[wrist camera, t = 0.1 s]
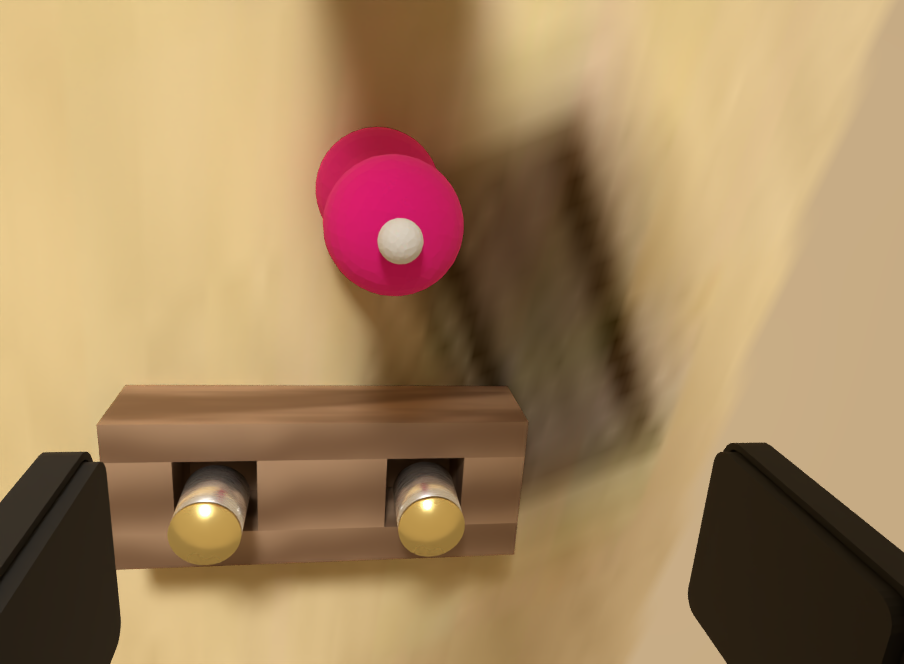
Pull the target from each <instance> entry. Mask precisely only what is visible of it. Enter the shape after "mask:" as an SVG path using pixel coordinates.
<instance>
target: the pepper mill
mask: <svg viewBox="0 0 904 664" xmlns="http://www.w3.org/2000/svg"><path fill="white" fill-rule="evenodd" d="M316 198H317V204H318V207H319V210H320V213H321V216H322V218H323V230H324V239H325V243H326V246H327V249H328V252H329V254H330V256H331V258H332V259H333V261H334V263H335V264H336V266H337V267H338V268H339V270H340V271H341V272H342V273H343V274H344V275H345V276H346V277H347V278H348V279H349V280H350V281H352V282H353V283H355V284H356V285H357V286H359V287H361V288H363V289H365V290H367V291H370V292H372V293H376V294H379V295H387V296H403V295H409V294H414V293H416V292H419V291H421V290H424V289H426V288H428V287H429V286H431V285H433V284H434V283H436V282H437V281H438V280H439V279H440V278H442V277H443V276H444V275H445V273H446V272H447V271H448V270H449V268H450V267H451V266H452V264H453V263H454V261H455V259H456V257H457V255H458V252H459V250H460V247H461V243H462V239H463V232H464V219H463V213H462V208H461V205H460V202H459V199H458V197H457V195H456V193H455V191H454V189H453V187H452V186H451V184H450V183H449V182H448V180H447V179H446V178H445V177H444V176H443V175H442V174H441V173H440V172H439V171H438V170H437V169H436V167H435V165H434V162H433V161H432V159H431V157H430V156H429V154H428V153H427V152H426V150H425V149H424V148H423V147H422V146H421V145H420V144H419V143H418V142H417V141H416V140H415V139H413V138H411V137H410V136H408V135H407V134H405V133H402V132H400V131H398V130H394V129H390V128H385V127H371V128H363V129H360V130H357V131H354V132H352V133H350V134H348V135H346V136H344V137H343V138H341V139H340V140H339V141H338V142H337V143H335V144H334V145H333V146H332V147H331V149H330V150H329V151H328V152H327V153H326V155H325V157H324V159H323V160H322V162H321V165H320V168H319V170H318V174H317V179H316Z"/></svg>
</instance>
